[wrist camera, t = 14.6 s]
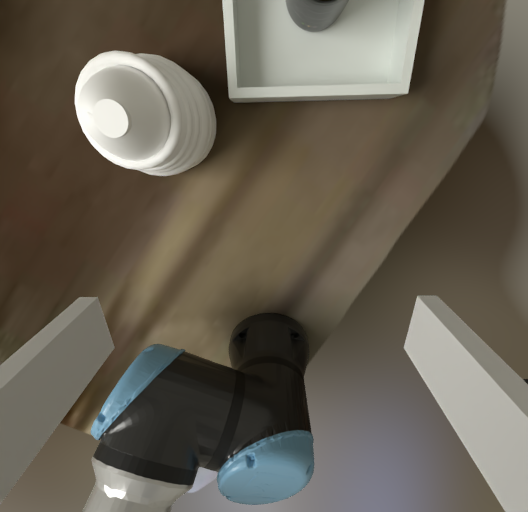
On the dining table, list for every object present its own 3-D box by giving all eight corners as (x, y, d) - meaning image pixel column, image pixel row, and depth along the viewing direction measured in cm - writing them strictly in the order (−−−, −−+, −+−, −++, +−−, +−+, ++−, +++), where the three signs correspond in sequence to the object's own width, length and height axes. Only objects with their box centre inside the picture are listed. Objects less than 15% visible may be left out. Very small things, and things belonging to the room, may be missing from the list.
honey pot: (224, 79, 34) (180, 29, 17) (209, 180, 39) (164, 215, 23) (121, 51, 33) (-29, -32, 16) (120, 158, 38) (6, 178, 22)
